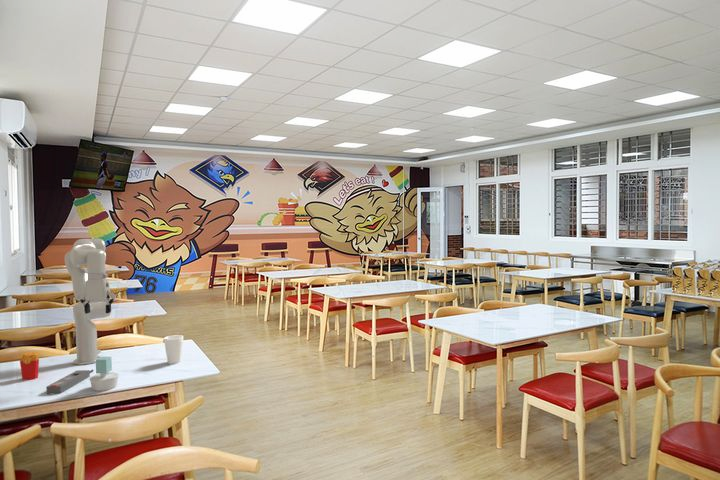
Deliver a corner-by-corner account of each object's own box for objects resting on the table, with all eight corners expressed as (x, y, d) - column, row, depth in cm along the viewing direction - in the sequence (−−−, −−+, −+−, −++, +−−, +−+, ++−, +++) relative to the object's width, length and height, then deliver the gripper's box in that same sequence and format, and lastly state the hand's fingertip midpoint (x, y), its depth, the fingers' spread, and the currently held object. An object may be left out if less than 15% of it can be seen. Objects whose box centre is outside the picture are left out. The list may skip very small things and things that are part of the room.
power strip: (86, 371, 232) (86, 364, 232) (98, 371, 232) (98, 363, 232) (46, 393, 202) (46, 385, 202) (60, 393, 202) (60, 385, 202)
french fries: (18, 379, 221) (17, 354, 220) (25, 376, 225) (24, 351, 224) (36, 379, 220) (34, 354, 220) (42, 377, 224) (41, 351, 224)
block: (101, 374, 210) (101, 356, 210) (112, 374, 210) (111, 356, 210) (96, 378, 206) (95, 359, 205) (106, 377, 206) (106, 359, 205)
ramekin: (112, 381, 216) (111, 370, 216) (123, 386, 209) (123, 375, 209) (85, 388, 208) (85, 376, 207) (96, 394, 201) (96, 382, 200)
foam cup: (183, 363, 242) (183, 338, 242) (164, 365, 239) (163, 340, 239) (184, 358, 251) (183, 334, 251) (165, 360, 248) (164, 336, 248)
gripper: (119, 275, 226) (120, 311, 227) (82, 276, 226) (84, 311, 226) (111, 277, 218) (112, 314, 219) (73, 278, 218) (74, 314, 219)
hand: (98, 313), depth 223 cm, fingers open, 9 cm apart
